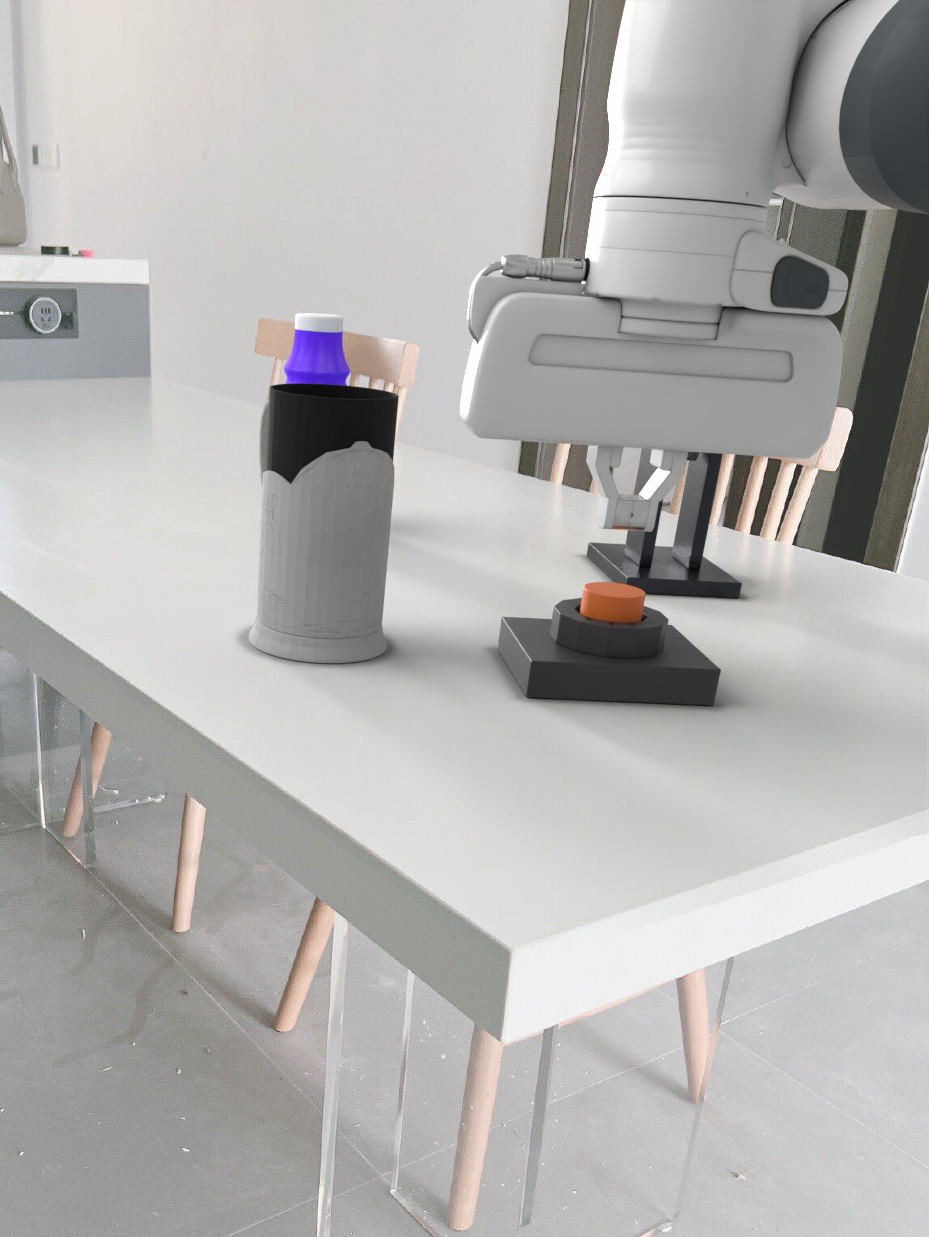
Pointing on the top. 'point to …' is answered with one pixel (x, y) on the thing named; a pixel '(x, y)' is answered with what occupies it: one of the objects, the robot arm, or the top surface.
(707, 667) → the switch box
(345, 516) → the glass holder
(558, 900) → the top surface
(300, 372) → the bottle
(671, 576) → the bracket
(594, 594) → the button
